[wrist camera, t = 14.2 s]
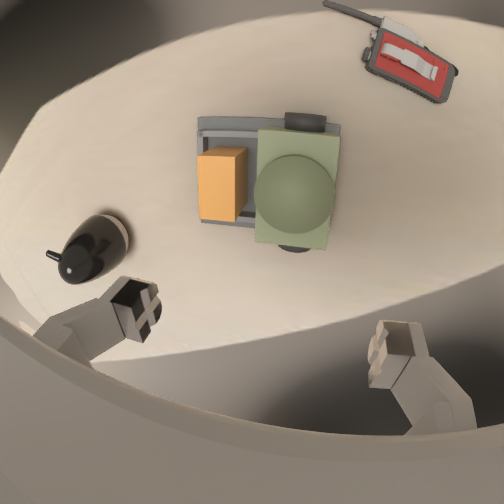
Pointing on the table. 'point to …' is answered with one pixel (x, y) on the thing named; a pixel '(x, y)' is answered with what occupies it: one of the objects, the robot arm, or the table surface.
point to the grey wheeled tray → (282, 175)
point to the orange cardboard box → (222, 182)
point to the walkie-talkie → (404, 57)
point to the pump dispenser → (92, 250)
